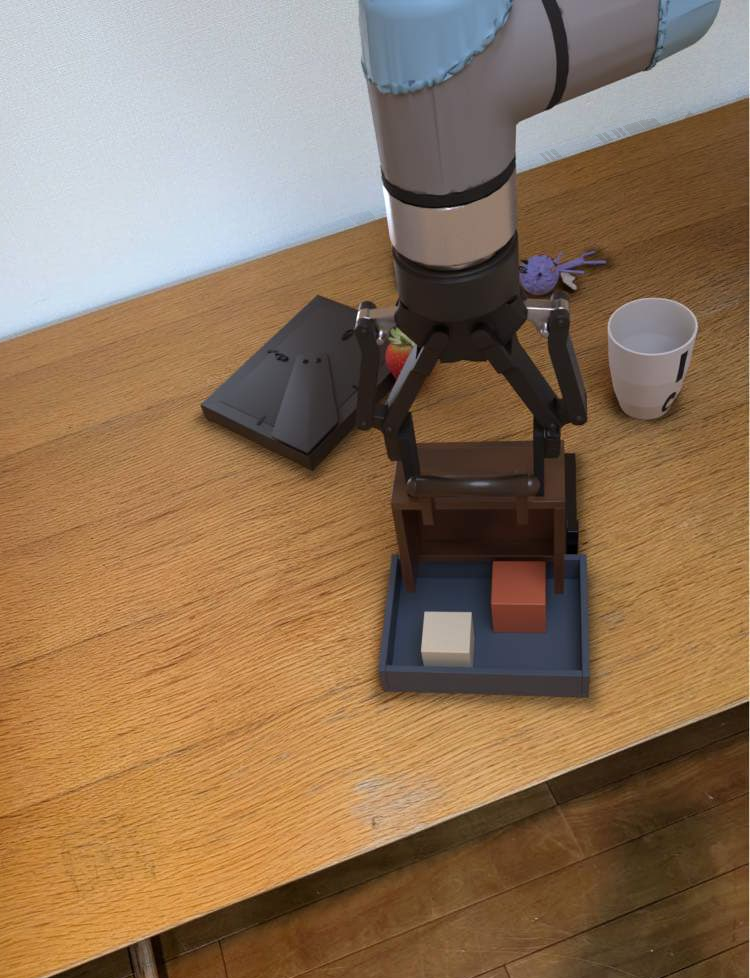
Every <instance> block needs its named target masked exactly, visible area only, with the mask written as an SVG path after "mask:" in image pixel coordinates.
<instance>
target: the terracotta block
mask: <svg viewBox="0 0 750 978" xmlns="http://www.w3.org/2000/svg"><path fill="white" fill-rule="evenodd" d="M491 610H492V622H493V632H510V633H546V562H545V561H493V567H492V590H491Z"/></svg>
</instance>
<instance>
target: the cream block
mask: <svg viewBox="0 0 750 978" xmlns="http://www.w3.org/2000/svg"><path fill="white" fill-rule="evenodd" d="M421 654H422V659H423V664H424V666H435V667H473V656H474V629H473V620H472V613H471V612H424V623H423V634H422V645H421Z"/></svg>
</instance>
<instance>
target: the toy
mask: <svg viewBox="0 0 750 978" xmlns="http://www.w3.org/2000/svg"><path fill="white" fill-rule="evenodd" d="M623 195H624V196H626V194H625V193H623ZM596 253H597V251H595V250H591V251H589V252H586V253H582V254H581V255H580V257H578V258H575V259H572V260H569V261H566V262H564V263H562V264H559V262H560V260H561V258H562V256H563V252H562V251H560V252H559V254H558V255H557V258H556V259H555V258H553V257H551V256H550V255H545V254H535V255H533V256H531V257H530V258H529V257H528V259H525V260H524V259H519V262H521V263H522V265H519V279H520V285H521V286H522V288H523V289H524V290H525V291H526V292H527V293H529V294H531V295H535V296H543V295H546V294H548V293H550V292H551V291H553V289H554V288H555V287H556V285H557V284H558V282H559V278H560V276H561V279H562V283H563V284H564V285H566V286H567V287H569V288H570V289H572V290H573V291H576V290H577V285H576V284H574V283H573V282H574V281H575V279H576V277H575V276H573V275H572V274H576V275H583V274H585V271H584V270H574V269H573V268H576V267H580V266H583V265H585V264H586V265H594V266H595V265H606V264H607V261H606V260H587V261H585V259H584V258H585V257H588V256H592V255H594V254H596Z"/></svg>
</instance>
